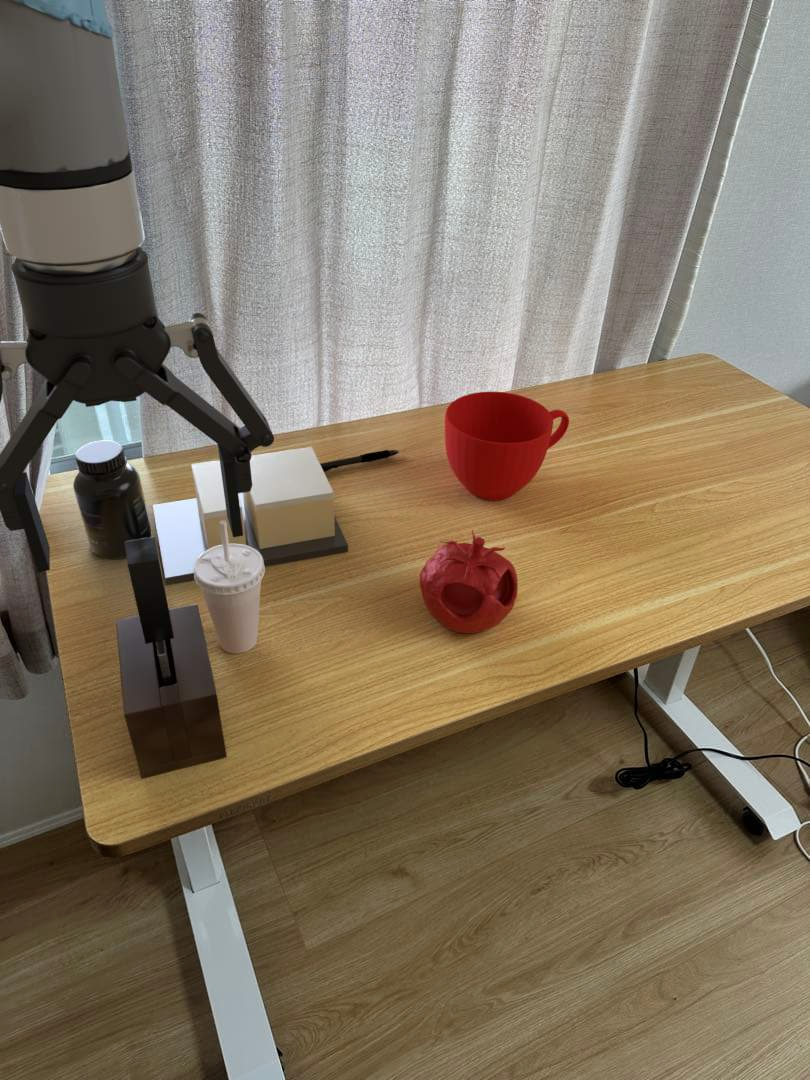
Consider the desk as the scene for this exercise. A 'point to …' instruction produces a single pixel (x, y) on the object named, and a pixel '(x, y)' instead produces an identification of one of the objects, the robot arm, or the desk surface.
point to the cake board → (188, 542)
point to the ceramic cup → (498, 441)
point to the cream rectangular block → (213, 503)
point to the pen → (359, 459)
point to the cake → (289, 498)
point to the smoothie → (231, 591)
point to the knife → (151, 598)
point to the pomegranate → (468, 586)
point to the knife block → (170, 696)
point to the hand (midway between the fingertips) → (142, 542)
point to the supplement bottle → (109, 498)
